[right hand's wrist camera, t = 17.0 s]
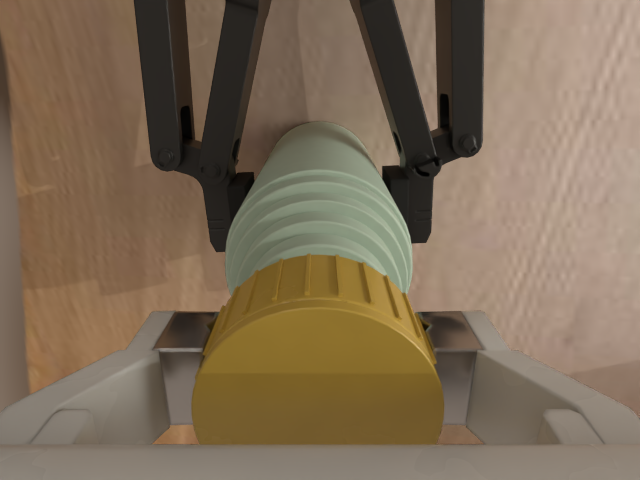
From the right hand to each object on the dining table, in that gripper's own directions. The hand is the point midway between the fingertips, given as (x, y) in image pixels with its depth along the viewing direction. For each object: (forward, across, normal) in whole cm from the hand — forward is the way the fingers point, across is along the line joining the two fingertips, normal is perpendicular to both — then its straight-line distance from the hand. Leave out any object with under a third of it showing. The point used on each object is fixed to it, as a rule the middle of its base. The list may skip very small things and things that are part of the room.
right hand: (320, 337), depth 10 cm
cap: (-2, 0, 0) cm, 2 cm away
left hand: (+11, 0, -5) cm, 12 cm away
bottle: (+17, 0, 0) cm, 17 cm away
